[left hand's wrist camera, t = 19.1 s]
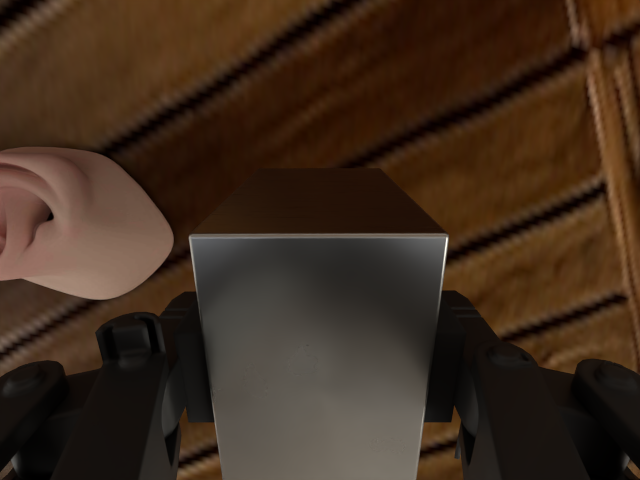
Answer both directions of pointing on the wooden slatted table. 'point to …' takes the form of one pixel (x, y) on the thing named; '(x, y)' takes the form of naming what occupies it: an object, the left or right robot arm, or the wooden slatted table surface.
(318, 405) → the block
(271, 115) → the wooden slatted table surface
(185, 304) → the left robot arm
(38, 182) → the anatomical model
